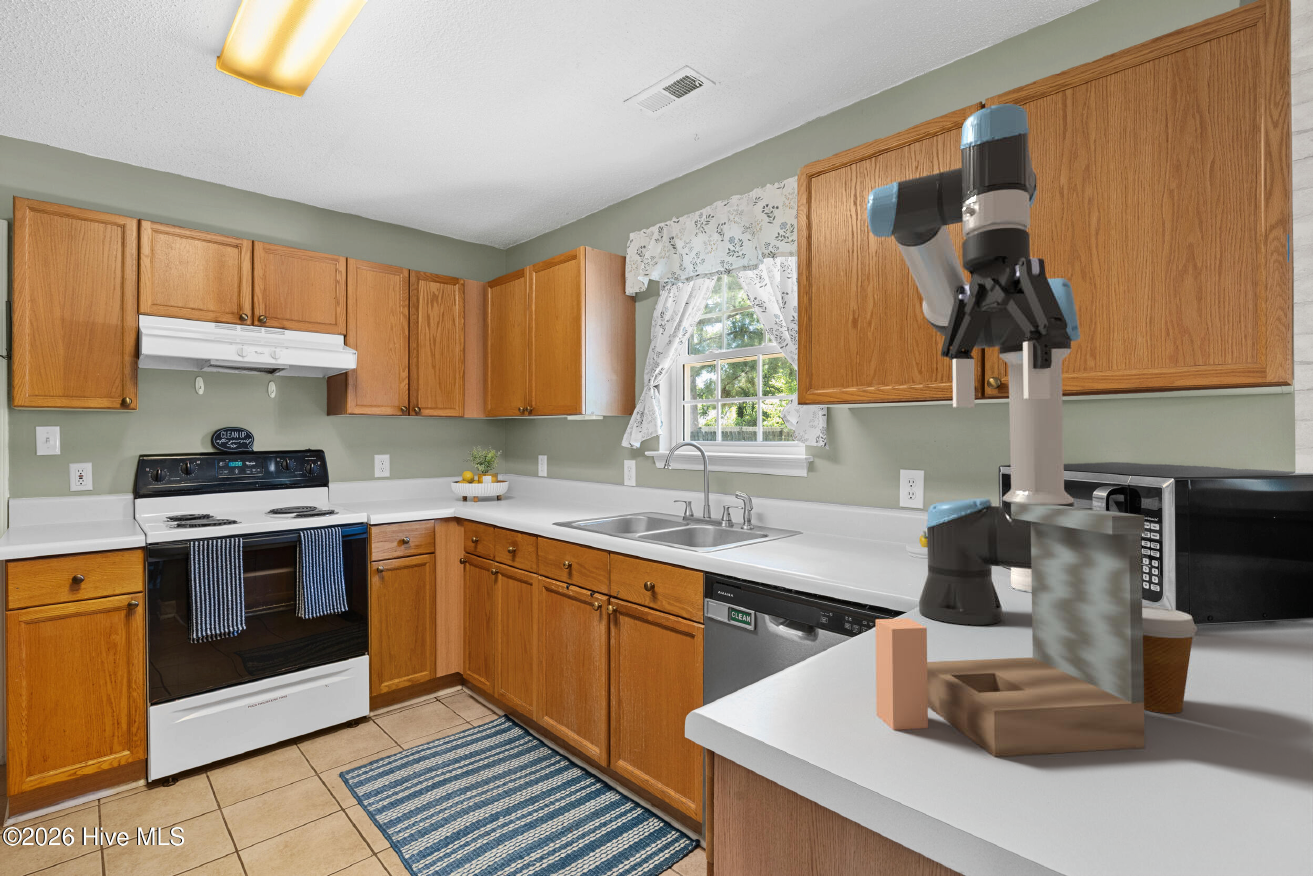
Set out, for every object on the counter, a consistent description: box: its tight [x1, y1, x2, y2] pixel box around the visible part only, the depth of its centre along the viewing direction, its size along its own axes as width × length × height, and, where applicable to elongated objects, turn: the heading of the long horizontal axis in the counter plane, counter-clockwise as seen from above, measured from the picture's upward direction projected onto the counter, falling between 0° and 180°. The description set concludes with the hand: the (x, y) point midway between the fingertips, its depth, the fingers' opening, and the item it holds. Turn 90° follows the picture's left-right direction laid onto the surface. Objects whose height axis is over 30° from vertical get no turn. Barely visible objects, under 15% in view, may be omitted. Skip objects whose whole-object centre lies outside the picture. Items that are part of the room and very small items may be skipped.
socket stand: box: [927, 503, 1146, 758], centre depth 79 cm, size 17×18×26 cm
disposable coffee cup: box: [1142, 604, 1198, 714], centre depth 85 cm, size 10×10×12 cm
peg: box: [875, 617, 929, 731], centre depth 80 cm, size 4×4×12 cm
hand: (997, 403), depth 81 cm, fingers open, 13 cm apart
